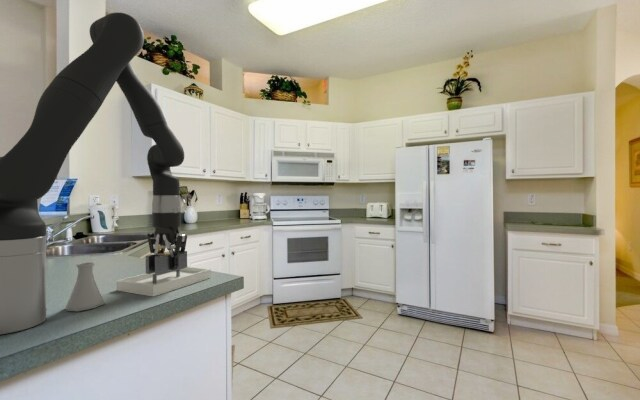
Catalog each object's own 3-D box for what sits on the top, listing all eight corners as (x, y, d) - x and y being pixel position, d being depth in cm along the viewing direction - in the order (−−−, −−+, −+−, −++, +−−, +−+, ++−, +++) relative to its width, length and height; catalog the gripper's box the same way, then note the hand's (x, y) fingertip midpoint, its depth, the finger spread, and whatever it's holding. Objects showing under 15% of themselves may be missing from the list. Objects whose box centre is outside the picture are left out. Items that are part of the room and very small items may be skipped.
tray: (153, 296, 76) (153, 282, 76) (116, 290, 82) (116, 276, 82) (210, 277, 95) (210, 266, 95) (177, 273, 100) (177, 262, 100)
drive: (158, 275, 83) (158, 256, 83) (145, 273, 85) (145, 255, 85) (187, 267, 92) (187, 250, 92) (175, 266, 94) (175, 249, 94)
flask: (58, 309, 68) (58, 265, 68) (94, 299, 74) (94, 259, 74) (75, 314, 64) (74, 268, 64) (111, 304, 71) (111, 262, 71)
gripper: (138, 211, 88) (138, 269, 88) (173, 211, 82) (174, 273, 82) (160, 210, 95) (161, 264, 95) (194, 210, 89) (195, 267, 89)
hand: (167, 268), depth 88 cm, fingers closed on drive, 5 cm apart
